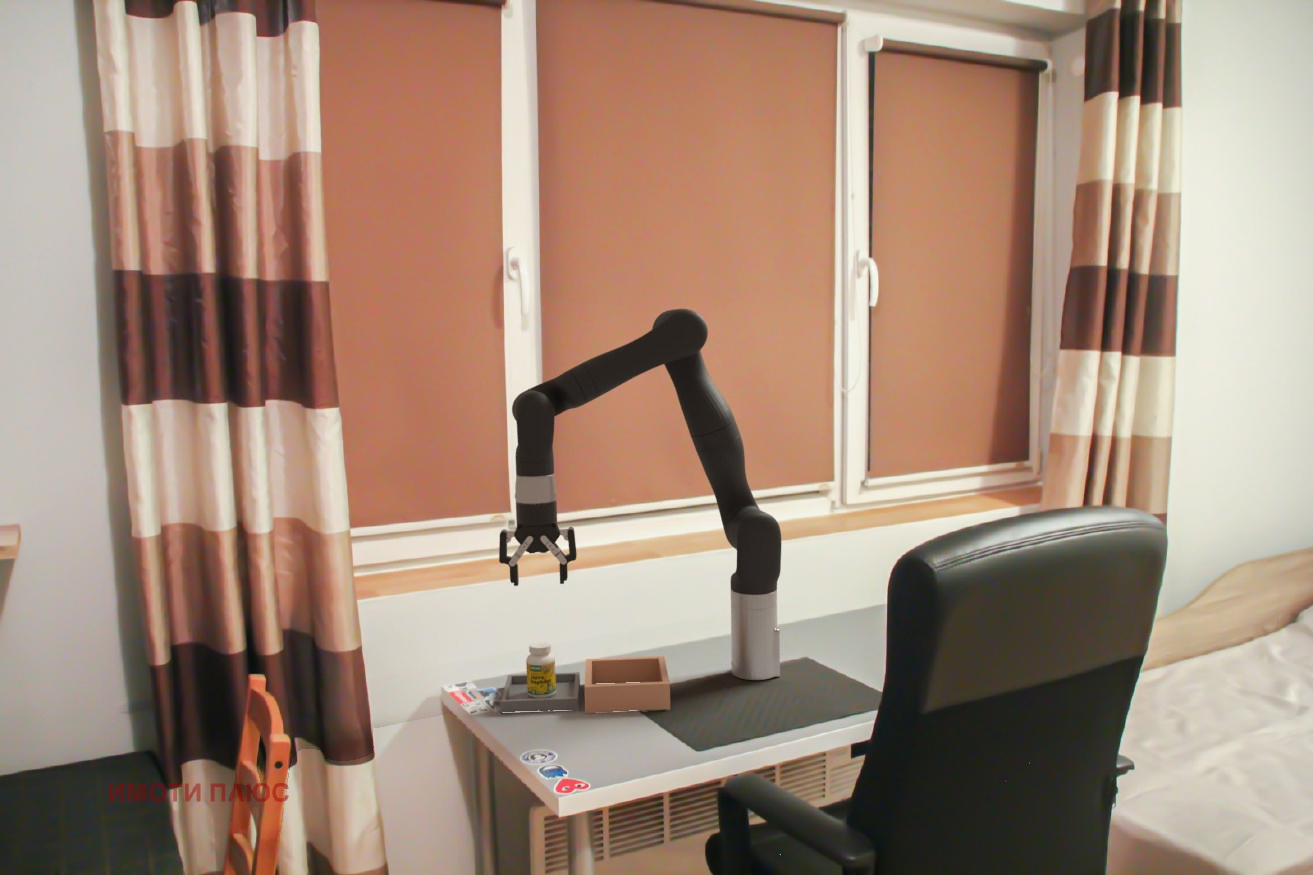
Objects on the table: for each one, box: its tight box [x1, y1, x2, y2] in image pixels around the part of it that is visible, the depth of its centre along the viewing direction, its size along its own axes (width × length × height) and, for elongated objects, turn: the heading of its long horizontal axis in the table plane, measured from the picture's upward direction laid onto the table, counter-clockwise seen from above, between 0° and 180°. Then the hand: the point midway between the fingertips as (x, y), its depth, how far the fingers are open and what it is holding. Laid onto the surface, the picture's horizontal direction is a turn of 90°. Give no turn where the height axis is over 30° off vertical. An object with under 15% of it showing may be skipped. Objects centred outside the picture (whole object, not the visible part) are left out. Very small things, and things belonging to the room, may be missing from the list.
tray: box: [500, 671, 581, 713], centre depth 181 cm, size 14×14×2 cm
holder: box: [584, 655, 671, 714], centre depth 181 cm, size 15×15×5 cm
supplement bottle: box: [525, 641, 556, 698], centre depth 180 cm, size 5×5×10 cm
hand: (539, 584), depth 179 cm, fingers open, 8 cm apart
